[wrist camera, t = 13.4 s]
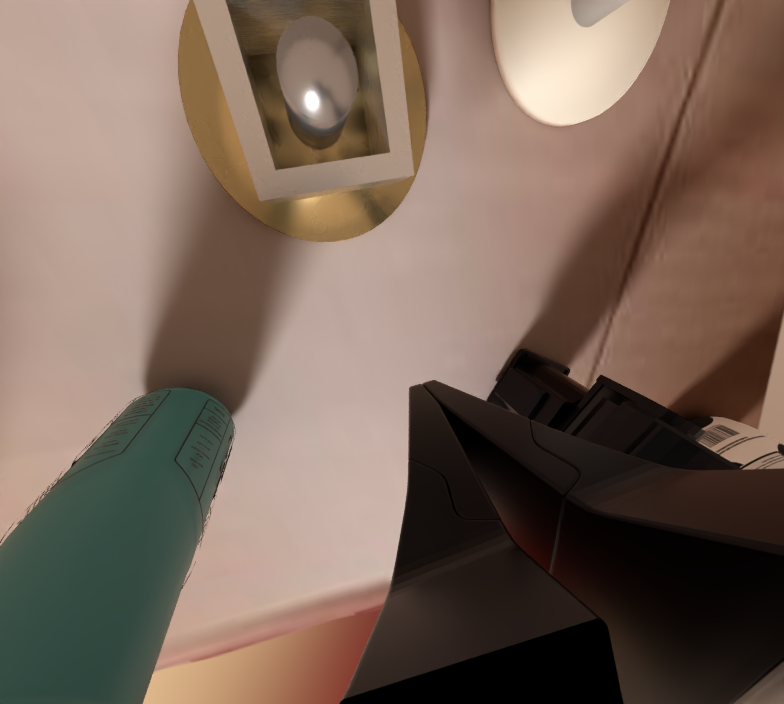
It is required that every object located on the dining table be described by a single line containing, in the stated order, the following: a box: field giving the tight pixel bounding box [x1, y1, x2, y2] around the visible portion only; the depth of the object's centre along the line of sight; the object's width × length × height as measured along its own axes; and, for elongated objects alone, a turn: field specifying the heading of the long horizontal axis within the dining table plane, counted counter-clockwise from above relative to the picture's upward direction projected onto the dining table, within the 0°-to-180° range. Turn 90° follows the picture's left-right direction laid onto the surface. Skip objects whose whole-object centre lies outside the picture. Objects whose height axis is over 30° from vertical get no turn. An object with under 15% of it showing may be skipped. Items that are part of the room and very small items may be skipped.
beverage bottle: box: [0, 388, 235, 704], centre depth 12 cm, size 6×7×20 cm
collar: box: [193, 0, 414, 205], centre depth 13 cm, size 7×7×4 cm
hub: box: [178, 0, 426, 242], centre depth 13 cm, size 12×12×6 cm
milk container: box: [689, 416, 784, 470], centre depth 32 cm, size 17×17×18 cm
